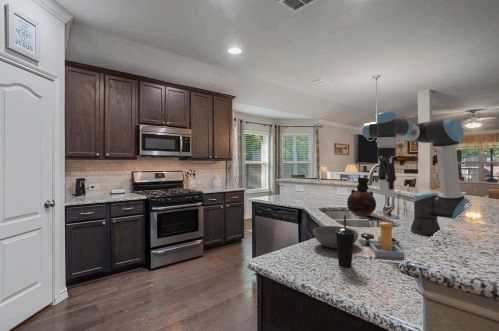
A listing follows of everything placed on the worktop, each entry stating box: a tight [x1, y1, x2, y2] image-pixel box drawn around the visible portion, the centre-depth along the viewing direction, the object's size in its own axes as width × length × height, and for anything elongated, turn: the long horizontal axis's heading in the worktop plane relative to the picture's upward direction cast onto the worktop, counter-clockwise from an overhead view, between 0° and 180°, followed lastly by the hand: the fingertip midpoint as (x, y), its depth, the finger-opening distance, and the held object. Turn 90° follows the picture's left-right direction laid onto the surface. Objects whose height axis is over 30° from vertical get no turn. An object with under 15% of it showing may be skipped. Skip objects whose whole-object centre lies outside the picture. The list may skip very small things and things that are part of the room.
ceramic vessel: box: [346, 177, 377, 217], centre depth 218 cm, size 21×18×30 cm
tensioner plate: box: [357, 232, 404, 250], centre depth 136 cm, size 18×12×6 cm, turn 77°
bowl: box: [312, 225, 359, 250], centre depth 137 cm, size 21×21×8 cm
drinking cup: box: [335, 215, 356, 268], centre depth 112 cm, size 8×8×20 cm
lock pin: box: [378, 221, 394, 251], centre depth 123 cm, size 6×6×14 cm
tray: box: [369, 243, 405, 262], centre depth 123 cm, size 11×11×4 cm
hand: (386, 195), depth 124 cm, fingers open, 13 cm apart
